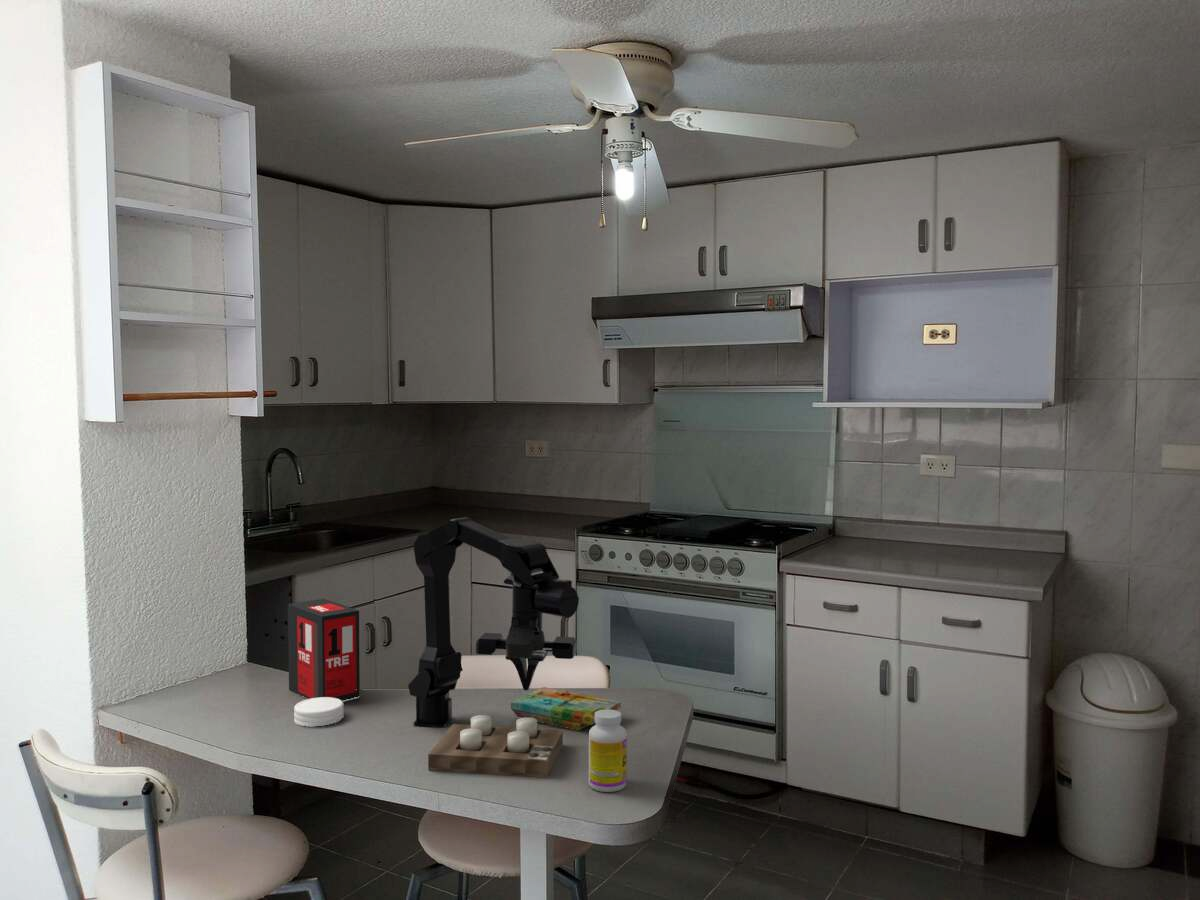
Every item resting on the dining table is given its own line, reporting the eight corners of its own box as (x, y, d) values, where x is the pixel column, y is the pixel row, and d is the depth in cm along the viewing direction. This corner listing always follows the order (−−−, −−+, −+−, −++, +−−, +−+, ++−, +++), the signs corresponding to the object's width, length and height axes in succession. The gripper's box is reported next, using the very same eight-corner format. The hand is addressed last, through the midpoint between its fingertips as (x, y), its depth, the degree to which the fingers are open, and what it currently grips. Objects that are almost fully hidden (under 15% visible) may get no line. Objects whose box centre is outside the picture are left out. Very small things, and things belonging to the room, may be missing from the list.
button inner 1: (468, 735, 182) (468, 721, 182) (473, 728, 186) (473, 714, 186) (488, 736, 181) (488, 722, 181) (493, 729, 185) (493, 715, 185)
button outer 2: (505, 752, 173) (505, 738, 173) (510, 744, 177) (510, 730, 177) (526, 753, 173) (526, 739, 173) (531, 745, 177) (531, 731, 177)
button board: (428, 770, 172) (428, 752, 172) (453, 738, 188) (453, 722, 188) (547, 777, 169) (547, 759, 169) (562, 744, 185) (562, 728, 185)
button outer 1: (457, 749, 174) (457, 735, 174) (463, 742, 178) (463, 727, 178) (478, 751, 174) (478, 736, 174) (484, 743, 178) (484, 729, 178)
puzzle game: (541, 683, 210) (620, 698, 200) (541, 704, 210) (620, 720, 200) (510, 698, 199) (593, 714, 190) (510, 720, 200) (593, 737, 190)
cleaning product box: (288, 690, 218) (287, 604, 217) (324, 682, 224) (323, 598, 223) (322, 707, 206) (322, 616, 205) (359, 698, 212) (359, 610, 211)
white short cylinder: (297, 731, 192) (296, 714, 192) (291, 716, 201) (291, 699, 201) (347, 724, 196) (347, 708, 196) (339, 710, 205) (339, 694, 205)
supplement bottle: (628, 793, 163) (629, 719, 162) (589, 794, 162) (590, 720, 161) (624, 777, 169) (624, 706, 169) (587, 778, 169) (587, 707, 168)
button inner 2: (514, 737, 181) (514, 724, 181) (518, 730, 185) (518, 717, 184) (534, 739, 180) (534, 725, 180) (538, 731, 184) (539, 718, 184)
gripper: (468, 617, 174) (467, 700, 175) (569, 622, 171) (567, 706, 172) (483, 603, 185) (482, 682, 186) (578, 608, 182) (576, 687, 183)
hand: (526, 689), depth 182 cm, fingers closed
